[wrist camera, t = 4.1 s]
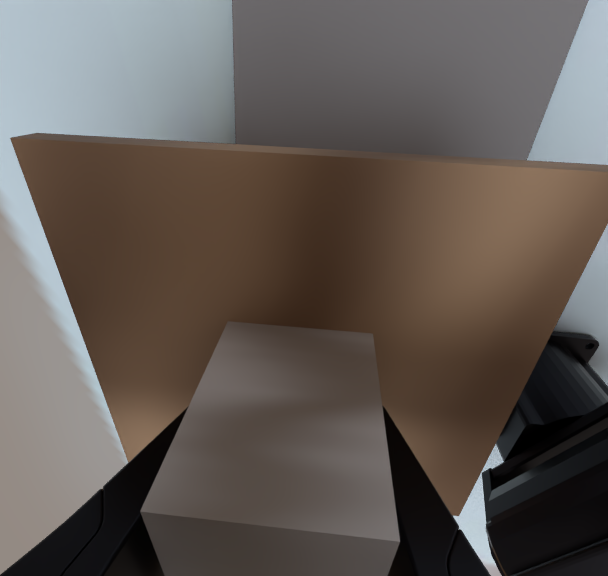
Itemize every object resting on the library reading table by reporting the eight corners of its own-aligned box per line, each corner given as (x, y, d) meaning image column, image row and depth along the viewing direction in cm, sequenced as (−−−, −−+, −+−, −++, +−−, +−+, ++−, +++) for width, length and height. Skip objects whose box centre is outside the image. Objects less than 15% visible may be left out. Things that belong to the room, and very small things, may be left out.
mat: (596, -36, 13) (603, -39, 13) (487, 251, 20) (490, 254, 19) (233, -63, 14) (230, -66, 13) (239, 225, 20) (237, 227, 20)
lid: (606, 164, 8) (1104, 324, 3) (453, 495, 14) (513, 715, 9) (36, 132, 8) (-407, 212, 3) (144, 461, 15) (47, 650, 10)
